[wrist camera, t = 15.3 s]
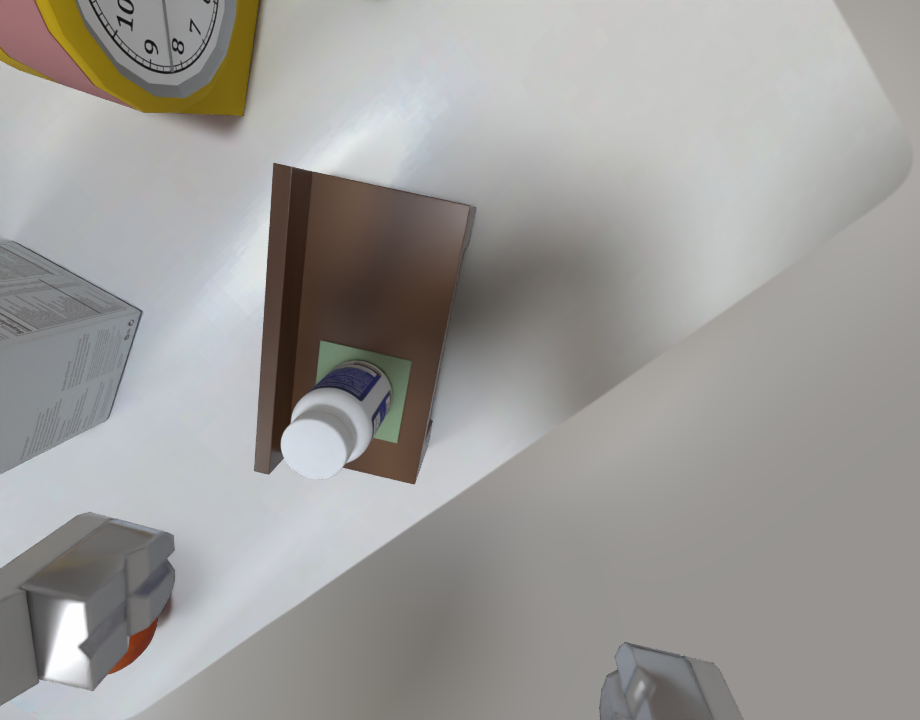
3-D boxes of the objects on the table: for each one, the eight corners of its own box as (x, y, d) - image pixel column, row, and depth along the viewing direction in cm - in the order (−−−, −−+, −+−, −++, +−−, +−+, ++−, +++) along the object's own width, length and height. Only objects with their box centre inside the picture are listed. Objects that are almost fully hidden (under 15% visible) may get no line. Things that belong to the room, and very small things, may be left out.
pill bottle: (313, 378, 34) (250, 431, 26) (369, 347, 33) (321, 391, 25) (352, 434, 35) (303, 502, 27) (407, 405, 34) (374, 467, 26)
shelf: (476, 207, 35) (466, 204, 27) (427, 448, 42) (407, 507, 34) (329, 175, 36) (273, 162, 27) (304, 420, 43) (253, 471, 34)
